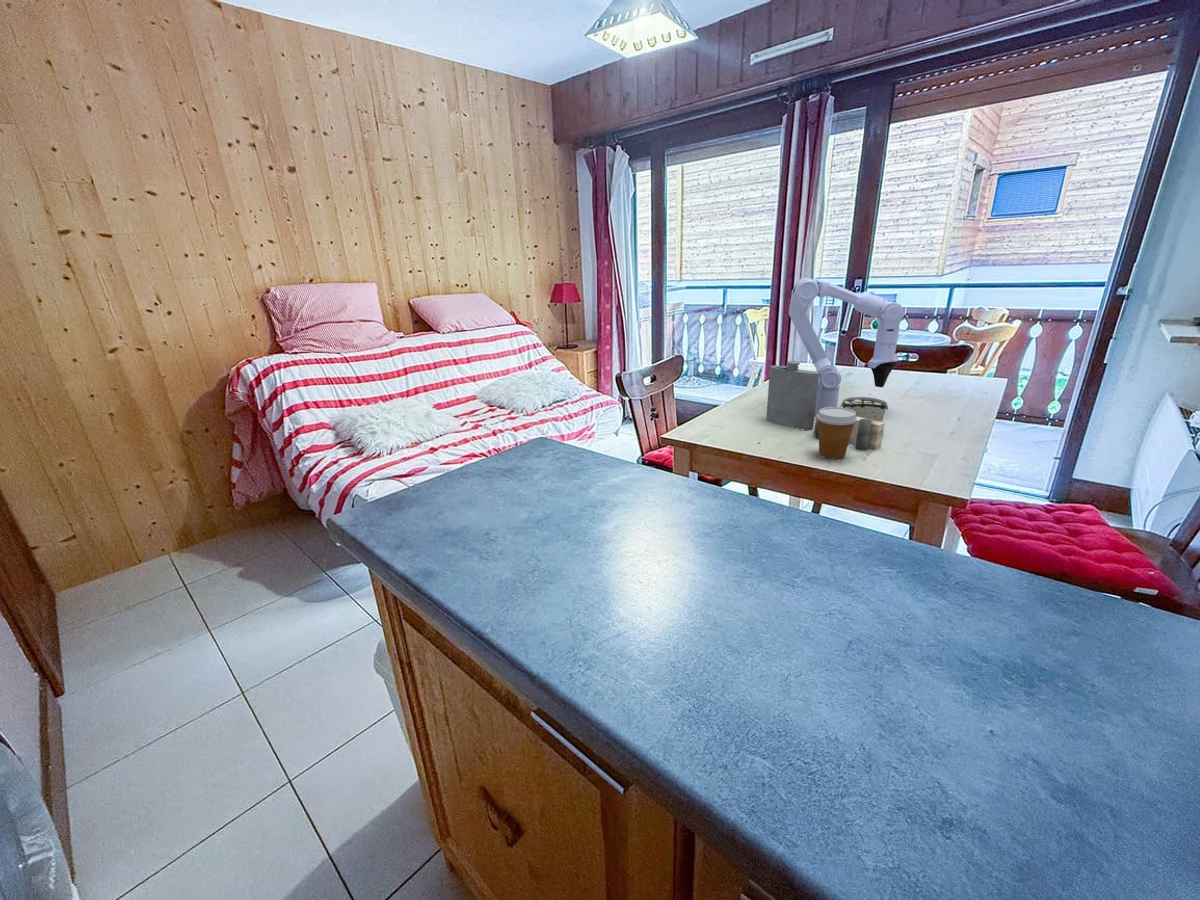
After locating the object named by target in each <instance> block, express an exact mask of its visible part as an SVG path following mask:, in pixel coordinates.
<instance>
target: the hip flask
mask: <svg viewBox="0 0 1200 900" xmlns="http://www.w3.org/2000/svg"><path fill="white" fill-rule="evenodd" d="M800 363H801V362H800V361H798V360H788V361H787V362H786V365H775V364H773V365H770V366H769V372H768V373H769V375H768V376H769V377H768V387H767V389H768V391H767V402H766V403H767V404H766V405H767V406H766V415H765V416H766V421H767V422H771V423H773V424H775V425H776V424H777V425H779V424H780V426H783V425H784V427H787V426H788V428H791V427H793V428H792V429H796V428H798V429H797V430H801V429H804V430H803V431H807V430H811V431H813V430H814V428H815V418H816V415H815V408H816V399H817V389H818V381H819V372H817V370H816V371H815V370H805V369H799V366H800ZM812 429H813V430H812Z"/></svg>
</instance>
